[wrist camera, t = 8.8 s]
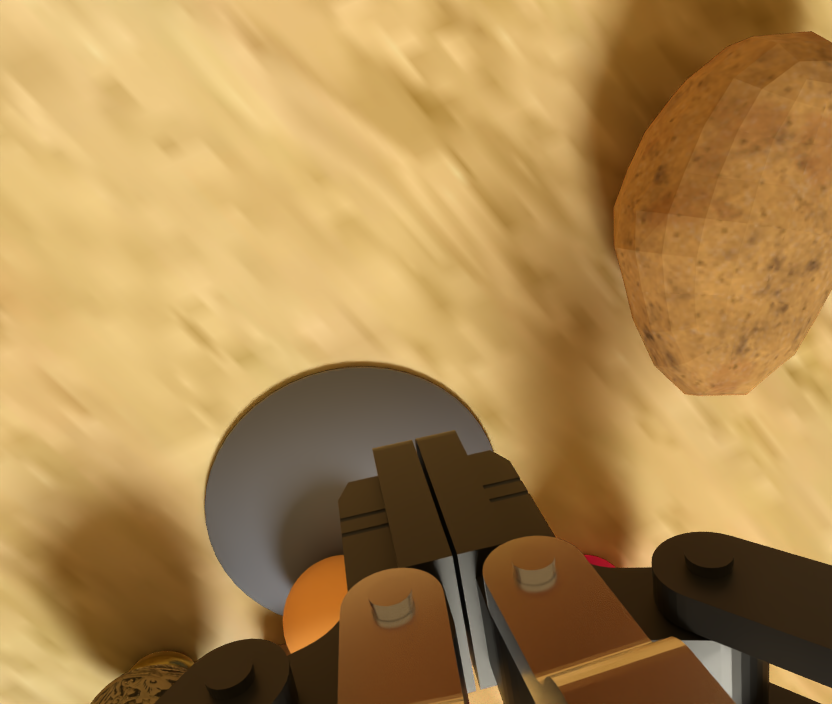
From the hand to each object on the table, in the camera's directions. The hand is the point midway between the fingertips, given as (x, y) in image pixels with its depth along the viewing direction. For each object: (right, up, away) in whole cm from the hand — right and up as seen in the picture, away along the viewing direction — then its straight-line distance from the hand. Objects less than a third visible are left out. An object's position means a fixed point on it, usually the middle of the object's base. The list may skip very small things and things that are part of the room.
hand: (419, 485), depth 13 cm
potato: (+12, +9, +20) cm, 25 cm away
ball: (-3, -10, +20) cm, 23 cm away
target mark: (-3, -5, +22) cm, 23 cm away
